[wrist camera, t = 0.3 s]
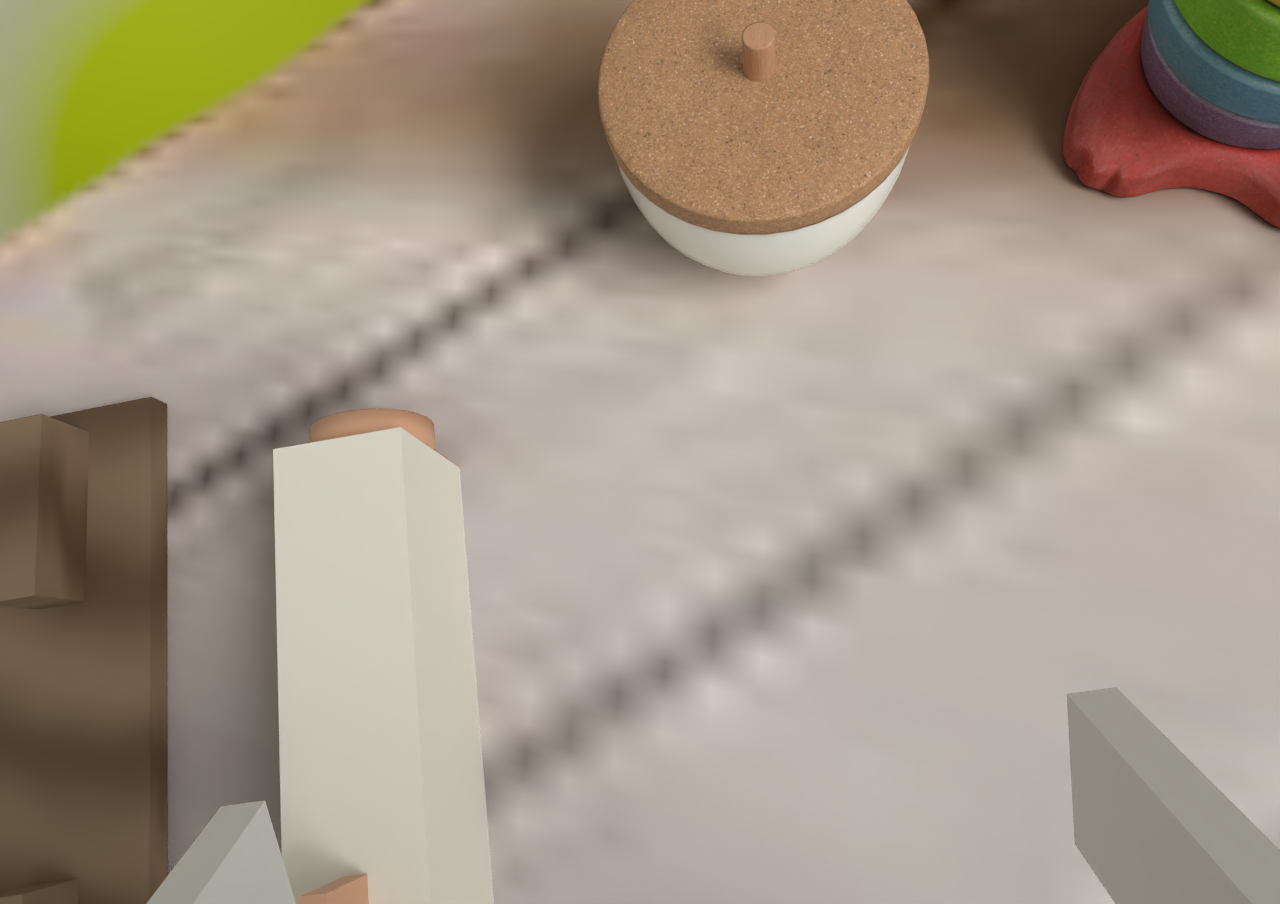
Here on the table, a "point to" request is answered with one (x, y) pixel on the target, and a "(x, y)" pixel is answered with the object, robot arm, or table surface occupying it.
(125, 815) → the cradle
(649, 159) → the lidded jar
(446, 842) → the block
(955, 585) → the table surface
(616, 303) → the table surface
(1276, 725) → the table surface
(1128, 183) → the stacking bear
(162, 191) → the table surface
